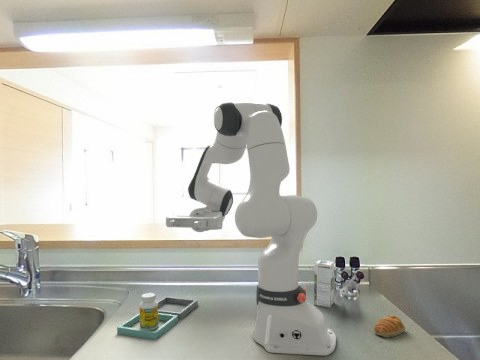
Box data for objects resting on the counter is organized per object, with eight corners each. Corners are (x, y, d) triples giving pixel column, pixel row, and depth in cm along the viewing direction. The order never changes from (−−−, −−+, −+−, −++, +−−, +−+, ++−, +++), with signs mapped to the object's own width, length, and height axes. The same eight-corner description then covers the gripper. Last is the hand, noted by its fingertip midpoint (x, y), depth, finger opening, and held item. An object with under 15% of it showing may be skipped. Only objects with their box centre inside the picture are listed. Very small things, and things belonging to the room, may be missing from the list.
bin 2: (197, 305, 120) (197, 300, 120) (180, 319, 108) (180, 313, 108) (165, 301, 124) (165, 296, 124) (145, 314, 112) (145, 309, 112)
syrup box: (317, 299, 124) (317, 259, 124) (334, 302, 121) (334, 261, 121) (313, 305, 119) (313, 263, 118) (331, 308, 116) (331, 265, 116)
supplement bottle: (154, 321, 106) (154, 290, 106) (161, 328, 102) (160, 295, 102) (137, 326, 103) (136, 294, 103) (142, 332, 99) (142, 299, 99)
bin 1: (178, 321, 106) (177, 315, 106) (155, 339, 94) (155, 333, 94) (142, 316, 110) (142, 310, 110) (117, 333, 98) (117, 327, 98)
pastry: (390, 342, 92) (390, 327, 92) (367, 333, 98) (367, 320, 98) (406, 331, 98) (406, 318, 98) (384, 324, 104) (384, 311, 104)
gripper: (176, 211, 133) (156, 214, 119) (225, 211, 126) (211, 215, 113) (176, 227, 133) (156, 232, 119) (226, 228, 126) (211, 234, 113)
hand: (183, 224), depth 116 cm, fingers open, 8 cm apart
